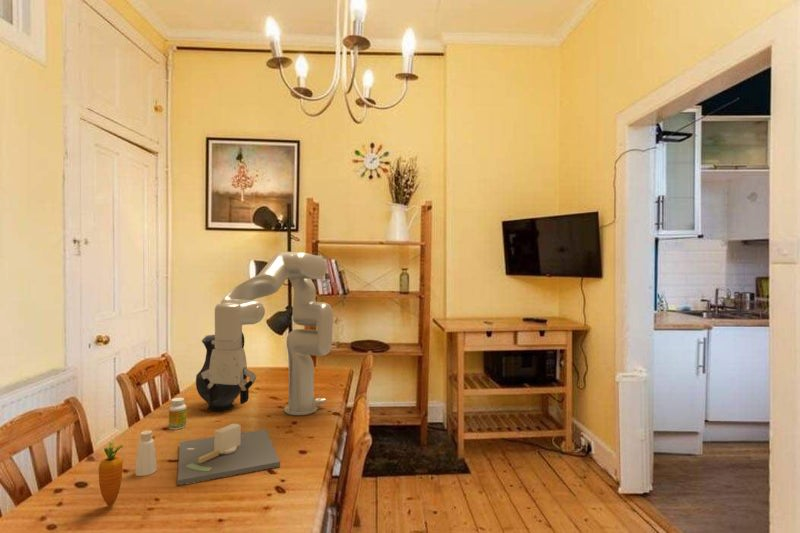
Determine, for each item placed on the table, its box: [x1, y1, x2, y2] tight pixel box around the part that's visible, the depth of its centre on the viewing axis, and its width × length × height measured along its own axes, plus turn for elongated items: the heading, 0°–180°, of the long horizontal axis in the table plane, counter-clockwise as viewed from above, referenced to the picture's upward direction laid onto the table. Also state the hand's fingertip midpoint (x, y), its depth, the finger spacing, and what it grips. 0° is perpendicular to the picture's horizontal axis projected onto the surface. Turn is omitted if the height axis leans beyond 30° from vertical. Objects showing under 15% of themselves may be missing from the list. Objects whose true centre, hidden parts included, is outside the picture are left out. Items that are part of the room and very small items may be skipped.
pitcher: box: [195, 332, 245, 413], centre depth 174 cm, size 17×21×30 cm
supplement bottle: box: [168, 397, 187, 431], centre depth 153 cm, size 5×5×10 cm
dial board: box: [176, 429, 281, 486], centre depth 131 cm, size 26×26×2 cm
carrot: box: [98, 442, 124, 507], centre depth 104 cm, size 5×5×15 cm
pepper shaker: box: [134, 429, 158, 477], centre depth 121 cm, size 5×5×11 cm
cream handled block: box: [198, 422, 242, 463], centre depth 128 cm, size 13×5×7 cm, turn 151°
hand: (229, 401), depth 131 cm, fingers open, 9 cm apart
